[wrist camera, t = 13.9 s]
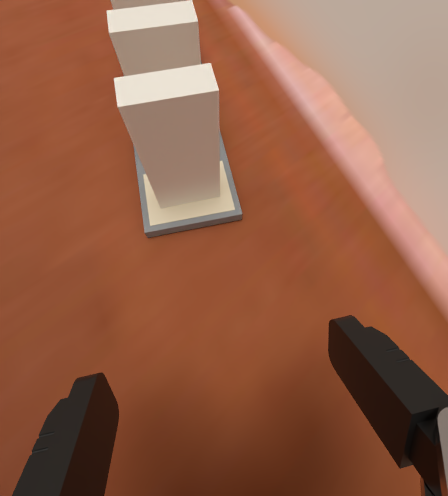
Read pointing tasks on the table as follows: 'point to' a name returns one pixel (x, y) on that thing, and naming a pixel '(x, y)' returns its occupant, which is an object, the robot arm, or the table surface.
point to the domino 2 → (174, 130)
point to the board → (189, 204)
